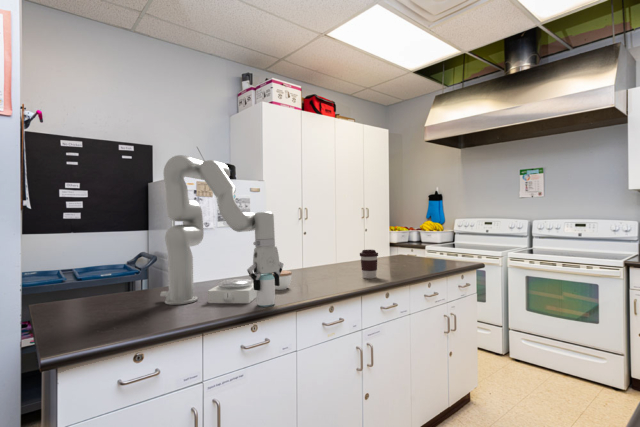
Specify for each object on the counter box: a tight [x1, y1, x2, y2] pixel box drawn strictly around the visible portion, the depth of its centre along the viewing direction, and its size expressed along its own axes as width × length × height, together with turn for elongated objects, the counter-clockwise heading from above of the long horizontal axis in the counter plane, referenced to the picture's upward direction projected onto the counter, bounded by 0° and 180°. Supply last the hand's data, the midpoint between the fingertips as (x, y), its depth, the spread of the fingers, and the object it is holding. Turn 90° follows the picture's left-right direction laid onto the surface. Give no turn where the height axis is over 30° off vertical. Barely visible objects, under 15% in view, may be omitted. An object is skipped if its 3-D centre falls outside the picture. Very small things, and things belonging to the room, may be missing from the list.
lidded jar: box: [272, 270, 293, 291], centre depth 167 cm, size 11×11×9 cm
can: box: [256, 273, 276, 308], centre depth 136 cm, size 7×7×12 cm
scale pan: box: [217, 278, 253, 288], centre depth 149 cm, size 14×14×1 cm
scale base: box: [207, 282, 257, 304], centre depth 148 cm, size 17×18×5 cm
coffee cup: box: [359, 249, 379, 280], centre depth 190 cm, size 10×10×15 cm
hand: (267, 287), depth 136 cm, fingers open, 9 cm apart
